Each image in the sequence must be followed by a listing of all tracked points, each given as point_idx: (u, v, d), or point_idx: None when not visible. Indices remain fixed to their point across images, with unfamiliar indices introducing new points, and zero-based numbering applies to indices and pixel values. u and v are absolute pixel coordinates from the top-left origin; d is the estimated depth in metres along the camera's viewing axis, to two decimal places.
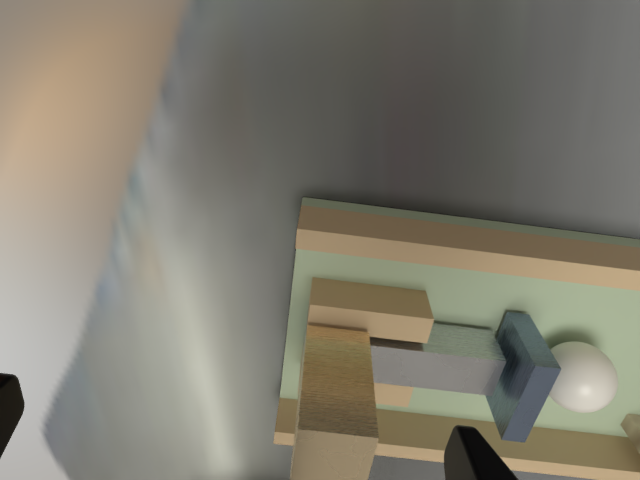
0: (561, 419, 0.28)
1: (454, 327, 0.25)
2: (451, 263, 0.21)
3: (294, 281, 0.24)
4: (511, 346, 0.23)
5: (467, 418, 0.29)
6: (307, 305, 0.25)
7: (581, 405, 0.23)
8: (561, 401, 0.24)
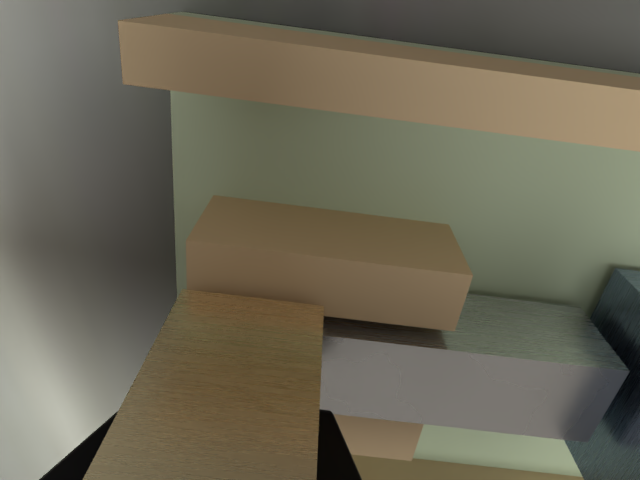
0: None
1: (505, 301, 0.12)
2: (524, 124, 0.08)
3: (177, 205, 0.12)
4: (633, 339, 0.11)
5: (516, 469, 0.16)
6: None
7: None
8: None
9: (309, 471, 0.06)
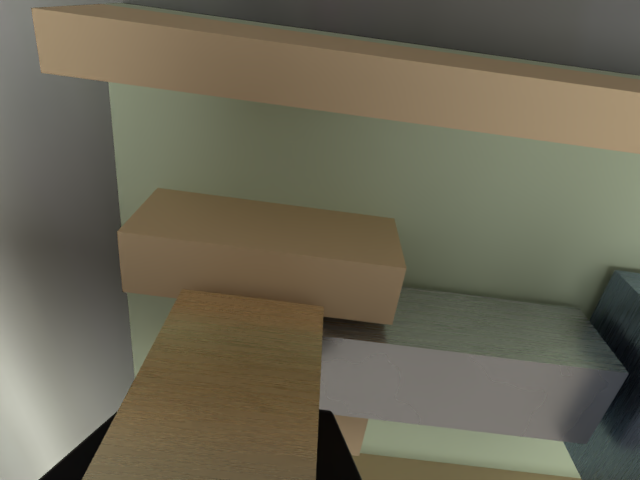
0: None
1: (505, 302, 0.12)
2: (446, 115, 0.08)
3: (122, 197, 0.12)
4: (633, 341, 0.11)
5: (475, 466, 0.16)
6: None
7: None
8: None
9: (308, 472, 0.06)
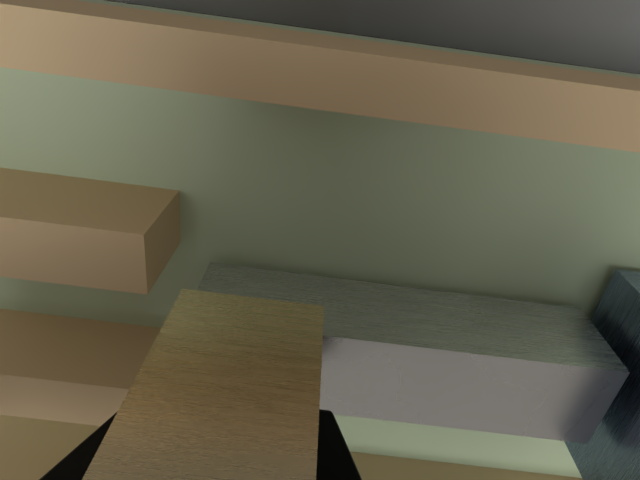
0: (488, 450, 0.16)
1: (505, 301, 0.12)
2: (130, 71, 0.08)
3: None
4: (634, 341, 0.11)
5: None
6: None
7: None
8: None
9: (309, 471, 0.06)
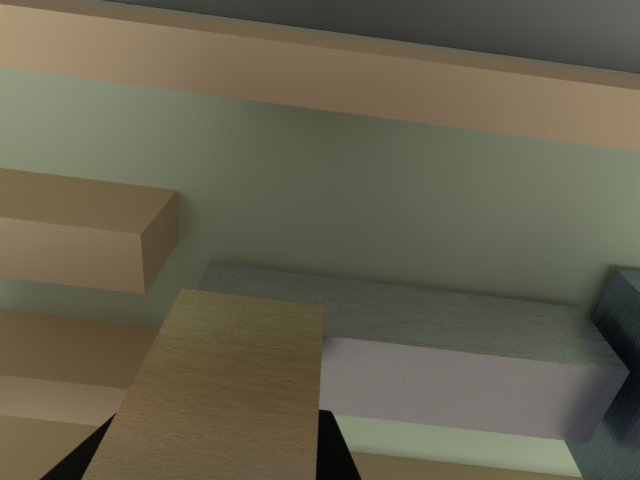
0: (487, 449, 0.16)
1: (505, 301, 0.12)
2: (126, 71, 0.08)
3: None
4: (633, 340, 0.11)
5: None
6: None
7: None
8: None
9: (308, 471, 0.06)
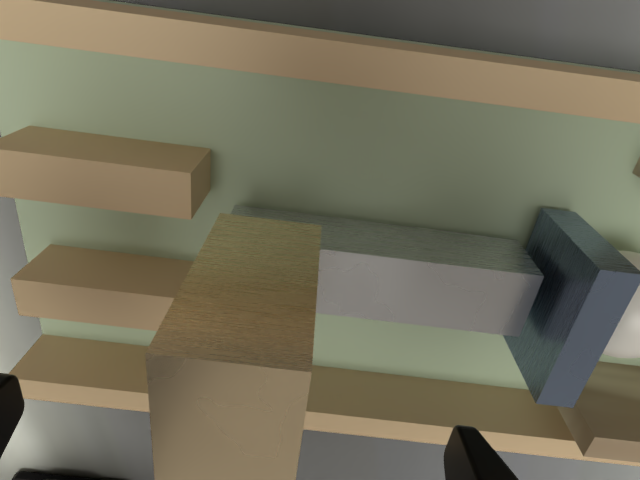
0: (453, 365, 0.20)
1: (459, 234, 0.16)
2: (187, 55, 0.12)
3: (3, 133, 0.15)
4: (550, 256, 0.15)
5: (318, 365, 0.20)
6: None
7: None
8: None
9: (311, 301, 0.10)
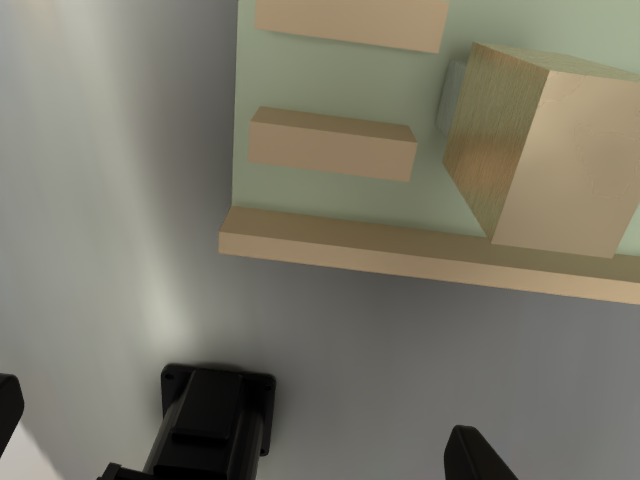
0: None
1: None
2: None
3: None
4: None
5: None
6: (262, 33, 0.17)
7: None
8: None
9: (630, 72, 0.11)
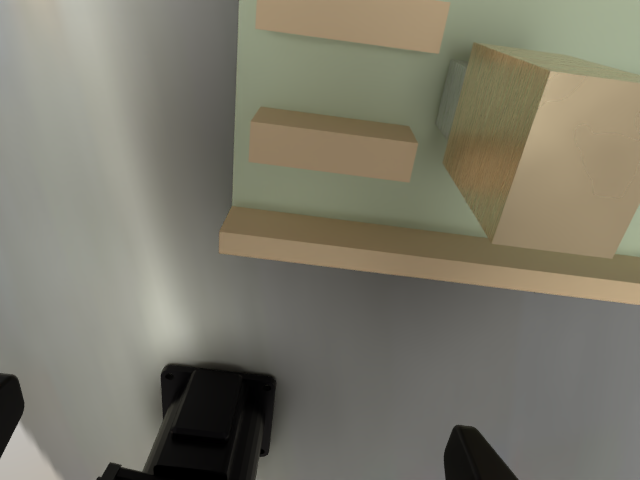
0: None
1: None
2: None
3: None
4: None
5: None
6: (263, 33, 0.17)
7: None
8: None
9: (631, 73, 0.11)
